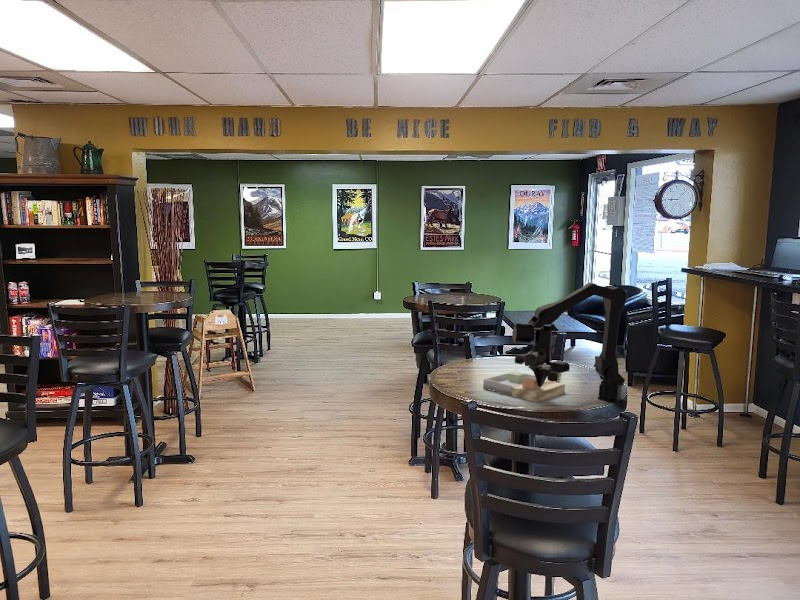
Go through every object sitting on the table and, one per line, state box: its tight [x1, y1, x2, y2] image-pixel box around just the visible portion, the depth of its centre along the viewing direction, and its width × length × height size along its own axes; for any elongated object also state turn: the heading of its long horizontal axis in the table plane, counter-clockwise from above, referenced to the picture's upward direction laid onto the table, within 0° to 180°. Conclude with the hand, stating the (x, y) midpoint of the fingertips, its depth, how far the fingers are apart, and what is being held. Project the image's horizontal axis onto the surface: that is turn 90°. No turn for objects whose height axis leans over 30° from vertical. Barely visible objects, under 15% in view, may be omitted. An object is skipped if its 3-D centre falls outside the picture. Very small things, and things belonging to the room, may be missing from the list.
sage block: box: [507, 370, 526, 383], centre depth 213 cm, size 4×4×3 cm
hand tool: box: [546, 371, 559, 382], centre depth 229 cm, size 19×4×5 cm, turn 160°
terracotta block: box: [522, 377, 540, 390], centre depth 199 cm, size 4×4×3 cm
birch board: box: [512, 379, 566, 403], centre depth 202 cm, size 10×19×3 cm, turn 134°
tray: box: [482, 370, 536, 397], centre depth 210 cm, size 12×20×4 cm, turn 134°
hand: (540, 386), depth 197 cm, fingers closed
